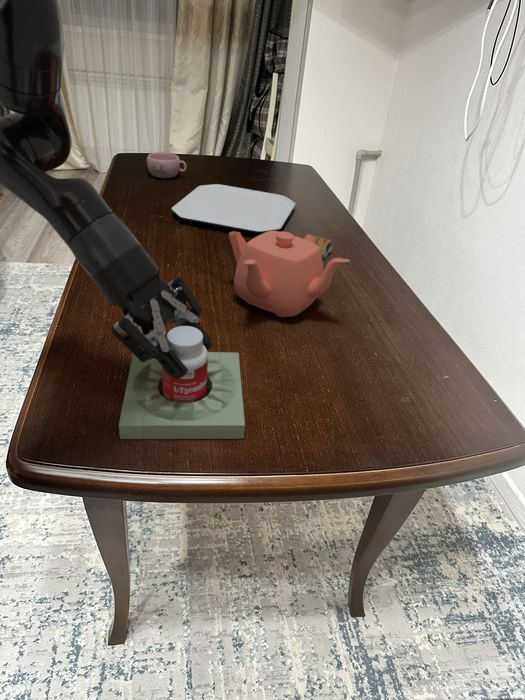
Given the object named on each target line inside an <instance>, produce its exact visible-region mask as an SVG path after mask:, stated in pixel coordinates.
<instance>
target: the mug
mask: <svg viewBox="0 0 525 700" xmlns="http://www.w3.org/2000/svg"><path fill="white" fill-rule="evenodd" d="M181 164H183V169H182V168H181ZM146 166H147V169H148V171H149V173H150V175H151V176H153V177H155V178H159V179H172V178H175V177H177V175H178V174H179V172H181V173H184V172H186V171H187V163H186V162H185V161H184V160H181V159H180V157H179V155H177V154H175V153H171V152H162V151H158V152H157V151H156V152H152V153H149V154H148V155H147V156H146Z"/></svg>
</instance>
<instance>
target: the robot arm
mask: <svg viewBox="0 0 525 700" xmlns="http://www.w3.org/2000/svg"><path fill="white" fill-rule="evenodd" d="M64 33H65V32H64V25H63V18H62V15H61V10H60V6H59V2H58V0H0V105H1V106H2V107H3V108H5V109H7V110H9V111H11V112H12V113H10V114H6V115H3V116H0V185H1V186H2V187H4V188H5V189H6V190H7V191H9V192H10V193H12V194H13V195H14V196H15V197H17V198H18V199H19V200H21V201H22V202H24V203H25V204H26V205H27V206H28V207H30V208H31V209H32V210H33V211H35V212H36V213H37V214H39V215H40V216H41V217H43V218H44V220H46V221H47V223H48V224H49V225H50V226H51V228H53V230H54V231H55V232H56V234H57V235H58V236H59V237H60V239H61V240H62V241H63V242H64V244H65V245H66V246H67V247H68V248H69V250H70V251H71V253H72V255H73V256H74V258H75V259H76V261H77V262H78V263H79V265H80V267H82V269H83V270H84V272H85V273H86V274H87V275H88V276H89V277H90V279H91V280H92V281H93V282H94V284H95V285H96V286H97V287H98V288H99V290H100V291H101V292H102V293H103V295H104V296H105V297H106V298H107V299H108V301H109V302H110V303H111V304H112V305H113V306H118V307H119V308H120V311H121V312H122V317H121V319H119V320H118V321H116V322H115V323H114V324H113V325H112V326H111V327H110V332H111V333H112V334H113V335H114V336H115V337H116V338H117V339H118V340H119V342H121V343H122V344H123V345H124V346H125V347H126V348H127V349H128V350H129V351H130V352H131V353H132V355H133V354H134V355H135V356H136V357H137V358H138V359H139V360H140V361H141V362H146V361H147V360H151V359H156V360H158V361H159V363H160V364H161V365H162V366H163V368H164V369H165V370H166V371H167V372H168V374H169V375H170V376H172V377H174V378H176V379H179V378H181V377H183V376H185V375H186V373H187V372H188V369H187V368H186V367H185V365H184V364H183V363H182V362H181V360H180V359H179V358H178V357H177V355H176V354H175V353H174V352H173V350H172V349H170V350H169V346H168V343H167V337H166V333H167V330H166V327H165V324H167V323H169V324H175V325H177V327H179V326H191V327H194V328H197V329H198V330H200V331H201V332H202V334H203V345H204V346H205V348H206V349H207V351H208V350H210V349H211V348H212V347H213V345H214V344H213V341H212V339H211V337H210V336H209V334H208V333H207V331H206V330H205V329H204V328H203V327H202V325H201V324H200V318H199V317H200V315H201V314H202V313H203V308H202V307H201V305H200V303H199V302H198V300H197V299H196V297H195V295H194V294H193V292H192V291H191V289H190V288H189V286H188V285H187V283H186V281H185V280H184V279H183V277H181V276H180V275H178V276H176V277H175V278H173V279H172V280H171V281H169V282H168V283H167V282H166V281H164V280H163V279H162V278H161V277H160V273H161V269H160V267H159V266H158V265H157V263H156V262H155V261H154V259H153V258H152V257H151V256H150V254H149V253H148V252H147V250H146V249H145V248H144V246H143V245H142V244H141V242H139V240H138V239H137V238H136V236H135V235H134V234H133V233H132V231H131V230H130V228H129V227H128V226H127V225H126V224H125V223H124V222H123V221H122V220H121V219H120V218H119V217H118V216H117V214H115V212H114V211H113V210H112V208H111V207H110V206H109V205H108V204H107V202H106V201H105V199H104V198H103V197H102V195H101V194H100V193H99V192H98V190H97V189H96V188H95V187H94V185H93V184H92V183H91V182H90V181H89V180H88V179H86V178H85V177H78V176H77V177H68V178H58V177H54V176H52V175H50V174H49V173H48V172H51V171H53V170H56V169H58V168H60V167H61V166H63V165H64V164H65V163H66V161H67V160H68V158H69V156H70V154H71V152H72V151H71V150H72V147H73V146H72V144H73V142H72V136H71V131H70V127H69V124H68V119H67V113H66V108H65V103H64V100H63V96H62V95H63V94H62V85H63V83H62V82H63V73H64V72H63V71H64V57H65V55H64V54H65V34H64ZM189 306H190V307H191V308H190V307H189Z"/></svg>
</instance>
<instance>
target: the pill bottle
mask: <svg viewBox="0 0 525 700" xmlns="http://www.w3.org/2000/svg"><path fill="white" fill-rule="evenodd" d="M166 341H167V343H168V346H169V350H170V349H172V350H173V352H174V353H175V354H176V355H177V357H178V358H179V359H180V360H181V362H182V363H183V364H184V365H185V367H186V368H187V369H188V372H187V373H186V375H185V376H183V377H181V378H179V379H176V378H174V377H172V376H170V375H169V374H168V372H167V371H166V370H165V369H164V368H163V366H162V384H163V389H162V396H163V397H164V398H165V399H167V400H168V401H172V402H175V403H193V402H197V401H200V400H202V399H203V398H205V397H206V396H207V390H208V389H207V369H208V352H209V351H208V350H207V349H206V348H205V346H204V345H203V334H202V332H201V331H200V330H198V329H197V328H194V327H191V326H175V327H173V328H171V329H170V330H169V331H168V332H167V335H166Z"/></svg>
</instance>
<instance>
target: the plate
mask: <svg viewBox="0 0 525 700" xmlns="http://www.w3.org/2000/svg"><path fill="white" fill-rule="evenodd" d="M295 207H296V202H295V201H294V200H291V198H288V197H287V196H285V195H283V194H279V193H272V192H266V191H261V190H253V189H249V188H244V187H238V186H231V185H226V184H220V183H214V184H204V185H203V184H202V185H198V186H197V187H196V188H194V189H193V190H192V191H191V192H190V193H187V195H186V196H185V197H183V198H182V199H181V200H179V201H178V202H177V203H176V204H174V205H173V206H172V207H171V211H172V213H174V214H175V215H176V216H177V217H179V219H182V220H185V221H189V222H192V223H196V224H201V225H207V226H212V227H217V228H221V229H228V230H233V231H237V232H245V233H250V234H263V233H265V232H268V231H280V230H281V229H282V228H283V226H284V225H285V223H286V221H287V220H288V218H289V216H290V215H291V213H292V212H293V210H294V208H295Z"/></svg>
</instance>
